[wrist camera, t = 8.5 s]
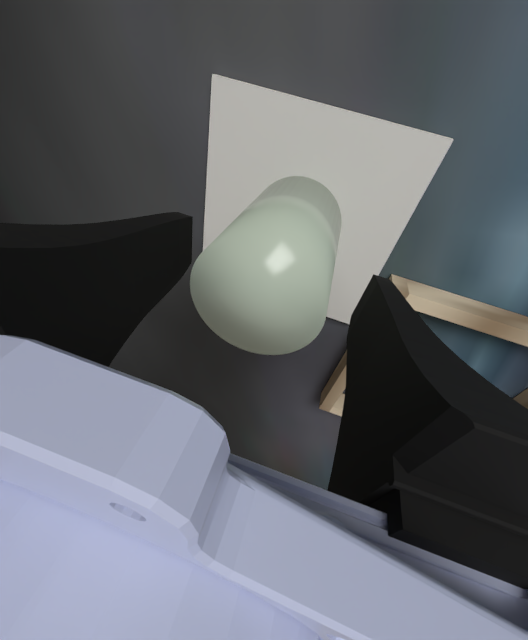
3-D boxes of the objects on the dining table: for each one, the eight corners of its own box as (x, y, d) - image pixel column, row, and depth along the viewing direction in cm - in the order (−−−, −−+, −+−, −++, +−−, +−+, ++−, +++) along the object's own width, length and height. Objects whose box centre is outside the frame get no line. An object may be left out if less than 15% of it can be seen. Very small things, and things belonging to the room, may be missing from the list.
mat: (451, 138, 11) (453, 139, 11) (351, 320, 18) (350, 324, 17) (215, 74, 12) (212, 73, 12) (204, 272, 19) (201, 275, 18)
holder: (615, 344, 14) (636, 365, 13) (463, 443, 22) (469, 462, 21) (391, 274, 15) (393, 288, 14) (321, 392, 23) (319, 408, 22)
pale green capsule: (314, 298, 17) (291, 395, 12) (243, 275, 17) (188, 358, 12) (356, 191, 13) (351, 264, 7) (261, 164, 13) (190, 215, 8)
